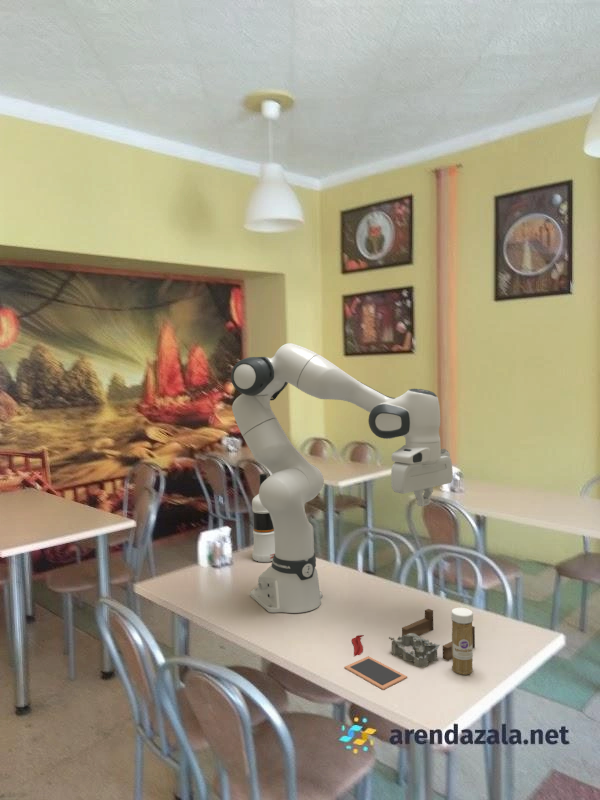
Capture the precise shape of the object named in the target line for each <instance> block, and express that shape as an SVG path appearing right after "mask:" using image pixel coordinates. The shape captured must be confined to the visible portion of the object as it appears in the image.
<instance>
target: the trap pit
mask: <svg viewBox="0 0 600 800" xmlns="http://www.w3.org/2000/svg"><path fill="white" fill-rule="evenodd" d="M344 669H345V670H347V671H349V672H350V673H352V674H354V675H356V676H358V677H359V678H361V679H363V680H365V681H366V682H367V683H370V684H372V685H373V686H375V687H377V688H379V689H380V690H382V691H384V690H386V689H388V688H390V687H392V686H394V685H396V684H399V683H400V682H402V681H405V680H406V679H407V678H408V675H405V674H403V673H401V672H400V671H398V670H396V669H394V668H392V667H390V666H388V665H387V664H385V663H382V662H381V661H378V660H377V659H376V658H373V657H372V656H369V655H368V656H366V657H364V658H361V659H358V660H357V661H354V662H352V663H349V664H347V665H346V666H344Z"/></svg>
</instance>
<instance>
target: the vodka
mask: <svg viewBox="0 0 600 800" xmlns="http://www.w3.org/2000/svg"><path fill="white" fill-rule="evenodd" d="M267 478H268V474H266V473H260V474H259V487H260V486H261V484H262V483H263V482H264V481H265V480H266V479H267ZM251 507H252V509H251V510H252V526H253V529H252V534H253V547H252V554H251V557H252V559H253V560H254V561H255V562H257V561H258V563H272V562H271V561H273V558H271V559H270V557H272V556H274V555H272V554H275V538H274V527H273V523H272V519H271V516H270V514H269V511H268V510H267V509H266V508H264V506H263V505H262V503H261V501H260V498H259V493H257V494H256V495H255V496H254V497H253V498H252V500H251ZM270 555H272V556H270Z"/></svg>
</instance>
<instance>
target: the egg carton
mask: <svg viewBox="0 0 600 800" xmlns="http://www.w3.org/2000/svg"><path fill="white" fill-rule="evenodd" d="M388 640H390V641H391V653H392V655H393V656H400V657H402V660H404V661H406V662H409V661H410V662H414V666H415V667H425V668H426V667H428V666H429V662H435V663H436V662H437V661H438V650H439V648H440V646H441V644H436V643H433V642H432V641H430V640H429V639H425V638H424V637H421V636H418V635H416V634H414V633H409V634H407V635H403V636H402V635H401V636H398V638H397V640H396V639H395V637H391V636H389V637H388ZM409 646H411V647H412V650H405V647H409Z"/></svg>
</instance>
